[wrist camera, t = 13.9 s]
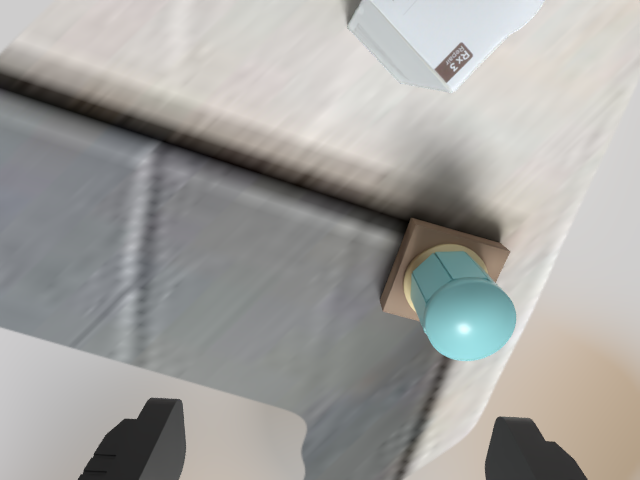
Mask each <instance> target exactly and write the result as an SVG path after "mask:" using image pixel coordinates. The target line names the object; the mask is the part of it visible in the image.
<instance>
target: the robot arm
mask: <svg viewBox="0 0 640 480" xmlns="http://www.w3.org/2000/svg"><path fill="white" fill-rule="evenodd" d="M185 453H186V440H185V428H184V415H183V404H182V401H181V400H180V399H166V398H165V399H164V398H150V399H149V400H148V401H147V402H146V404H145V406H144V408H143V409H142V411H141V413H140V415H139V416H138V418H137V419H124V420H123V421H121V422H120V423H119V424H118V425H117V426H116V427H114V428H113V429H112V430H111V431H110V432H109V433H107V434H106V435H105V437H104V439H103V441H102V442H101V443H100V445H99V447H98V448H97V450H96V451H95V453H94V456H93V458H91V459H90V461H89V462H88V464H87V466H86V467H85V469H84V472H83V474H81V475H80V477H79V478H78V480H179V477H180V475H181V472H182V468H183V465H184V459H185ZM485 475H486V480H587V478H586V476H585V475H584V473H583V472H582V470H581V469H580V468H579V466H578V465H577V463H576V461H575V460H574V459H573V458H572V457H571V456H570V455H569V454H567V453H566V452H565V451H564V450H563V449H562V448H561V447H560V446H559V445H558V444H556V443H555V442H549V441H545V439H544V438H543V436H542V434H541V433H540V431H539V429H538V428H537V426H536V424H535V423H534V422H533V421H532V420H531V419H530V418H517V417H498V418H497V419H496V421H495V424H494V428H493V432H492V437H491V441H490V445H489V449H488V453H487V457H486V461H485Z"/></svg>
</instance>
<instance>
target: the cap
mask: <svg viewBox="0 0 640 480" xmlns="http://www.w3.org/2000/svg"><path fill="white" fill-rule="evenodd" d="M412 272H413V273H412V276H411V300H412V303H413V305H414V308H415V310H416V313H417V315H418V317H419V320H420V322H421V325H422V327H423V330H424V332H425V333H426V334H427V335H428V338H429V340H430V342H431V344H432V345H433V346H434V348H435V349H436V350H437V351H439V352H440V353H441V354H443V355H445V356H446V357H449V358H451V359H455V360H461V361H472V360H478V359H482V358H485V357H487V356H490V355H491V354H493V353H495V352H496V351H498V350H499V349H500V348H502V347H503V346H504V345H505V344H506V342H507V341H508V340H509V338H510V337H511V335H512V333H513V331H514V328H515V324H516V312H515V308H514V305H513V303H512V301H511V300H510V298H509V297H508V296H507V295H506V294H505V293H504V291H503V290H502V289H501V288H500V287H499V286H498V285H497V284H496V283H495V282H494V281H493V280H492V278H491V277H490V276H489V275H488V274H487V273H486V272H485V270H484V269H483V268H482V267H481V266H480V265H478V264H477V263H476V262H475V261H474V260H473V259H472V258H471V257H470V256H469V255H468V254H467V253H466V252H464V251H450V252H435V254H434V253H432V254H431V255H430V256H429V257H428V258H427V259H426V260H425V261H424V262H422V263H421V264H420V265H419V266H418V267H417V268H416V269H415V270H414V271H412Z"/></svg>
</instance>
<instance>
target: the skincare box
mask: <svg viewBox="0 0 640 480" xmlns="http://www.w3.org/2000/svg"><path fill="white" fill-rule="evenodd" d="M544 1H545V0H361V2H360V4H359V6H358V7H357V8H356V10H355V12H354V14H353V16H352V18H351V20H350V22H349V24H348V26H347V27H348V29H349V30H350V31H351V32H352V33H353V34H354V35H355V37H356V38H357V39H358V40H359V41H360V42H361V43H362V44H363V45H364V46H365V47H366V48H367V49H368V50H369V51H370V52H371V54H372V55H373V56H374V57H375V58H376V59H377V60H378V61H379V62H380V63H381V64H382V65H383V66H384V67H385V68H386V69H387V71H388V72H389V73H390V74H391V75H392V76H393V77H394V78H395V79H396V80H397V81H398V82H399V83H400V84H406V85H411V86H417V87H422V88H428V89H433V90H438V91H443V92H448V93H454V92H455V91H456V90H457V89H458V88H459V87H460V86H461V85H462V84H463V83H464V82H465V81H466V80H467V79H468V78H469V77H470V76H471V74H472V73H473V72H474V71H475V70H476V69H477V68H478V67H479V66H480V65H481V64H482V63H483V62H484V61H485V60H486V59H487V58H488V57H489V56H490V55H491V54H492V53H493V52H494V51H495V50H496V49H497V48H498V47H499V46H500V45H501V44H502V43H503V42H504V41H505V40H506V39H507V38H508V37H509V36H510V35H511V34H512V33H514V32H515V31H517V30H519V29H521V28H522V27H523V26H525V25H526V24H527V23H528V22H529V21H530V20H531V19H532V18H533V17H534V16H535V15H536V13H537V12H538V11H539V10H540V8H541V7H542V5H543V3H544Z"/></svg>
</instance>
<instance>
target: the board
mask: <svg viewBox="0 0 640 480" xmlns="http://www.w3.org/2000/svg"><path fill="white" fill-rule="evenodd" d="M450 251H464V252H466V253H467V254H468V255H469V256H470V257H471V258H472V259H473V260H474V261H475V262H476V263H477V264H478V265H480V266H481V267H482V268H483V269H484V270H485V272H486V273H487V274H488V275H489V276H490V277H491V278H492V280H493V281H494V282H495V283H496V281H497V278H498V276H499V274H500V272H501V270H502V268H503V266H504V264H505V262H506V259H507V257H508V255H509V253H510V251H509V250H508V249H507V248H506V247H504V246H503V245H502V244H501V243H499V242H495V241H492V240H488V239H485V238H481V237H478V236H474V235H471V234H467V233H464V232H460V231H457V230H453V229H450V228H446V227H443V226H439V225H436V224H432V223H429V222H425V221H422V220H418V219H415V218H411V219H410V222H409V224H408V227H407V230H406V232H405V235H404V238H403V240H402V243H401V246H400V248H399V251H398V254H397V256H396V259H395V261H394V264H393V267H392V269H391V272H390V275H389V277H388V280H387V283H386V285H385V288H384V291H383V293H382V296H381V299H380V303H381V307H382V310H383V312H387V313H391V314H394V315H398V316H402V317H406V318H409V319H413V320H417V321H420V320H419V317H418V315H417V313H416V310H415V308H414V305H413V303H412V300H411V276H412V273H413V272H412V271H414V270H415V269H416V268H417V267H418V266H419V265H420V264H421V263H422V262H424V261H425V260H426V259H427V258H428V257H429V256H430V255H431V254H432V253H434V254H435V252H450Z"/></svg>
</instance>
